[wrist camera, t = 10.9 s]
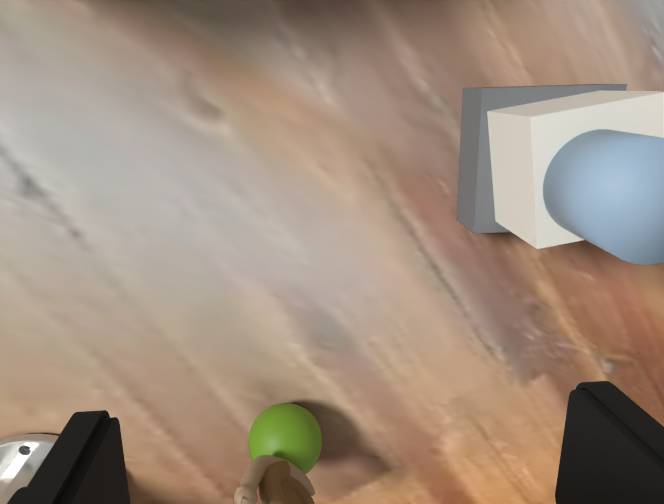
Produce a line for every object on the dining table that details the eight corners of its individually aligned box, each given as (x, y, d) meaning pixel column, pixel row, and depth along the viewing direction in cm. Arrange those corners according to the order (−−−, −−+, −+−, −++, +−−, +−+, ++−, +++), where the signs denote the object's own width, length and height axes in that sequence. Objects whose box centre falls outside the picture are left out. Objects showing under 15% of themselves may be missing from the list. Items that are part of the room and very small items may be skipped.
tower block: (600, 201, 34) (663, 224, 28) (495, 221, 34) (537, 249, 28) (599, 90, 32) (667, 91, 26) (486, 111, 32) (530, 117, 26)
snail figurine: (269, 369, 40) (263, 483, 29) (334, 413, 42) (351, 537, 30) (226, 418, 41) (203, 547, 30) (290, 459, 43) (292, 596, 31)
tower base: (575, 213, 38) (606, 227, 35) (455, 218, 38) (473, 233, 34) (590, 84, 36) (626, 84, 32) (461, 87, 35) (482, 88, 31)
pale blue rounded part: (639, 228, 28) (710, 258, 24) (540, 238, 28) (592, 270, 23) (650, 124, 27) (730, 134, 22) (545, 134, 26) (602, 146, 22)
